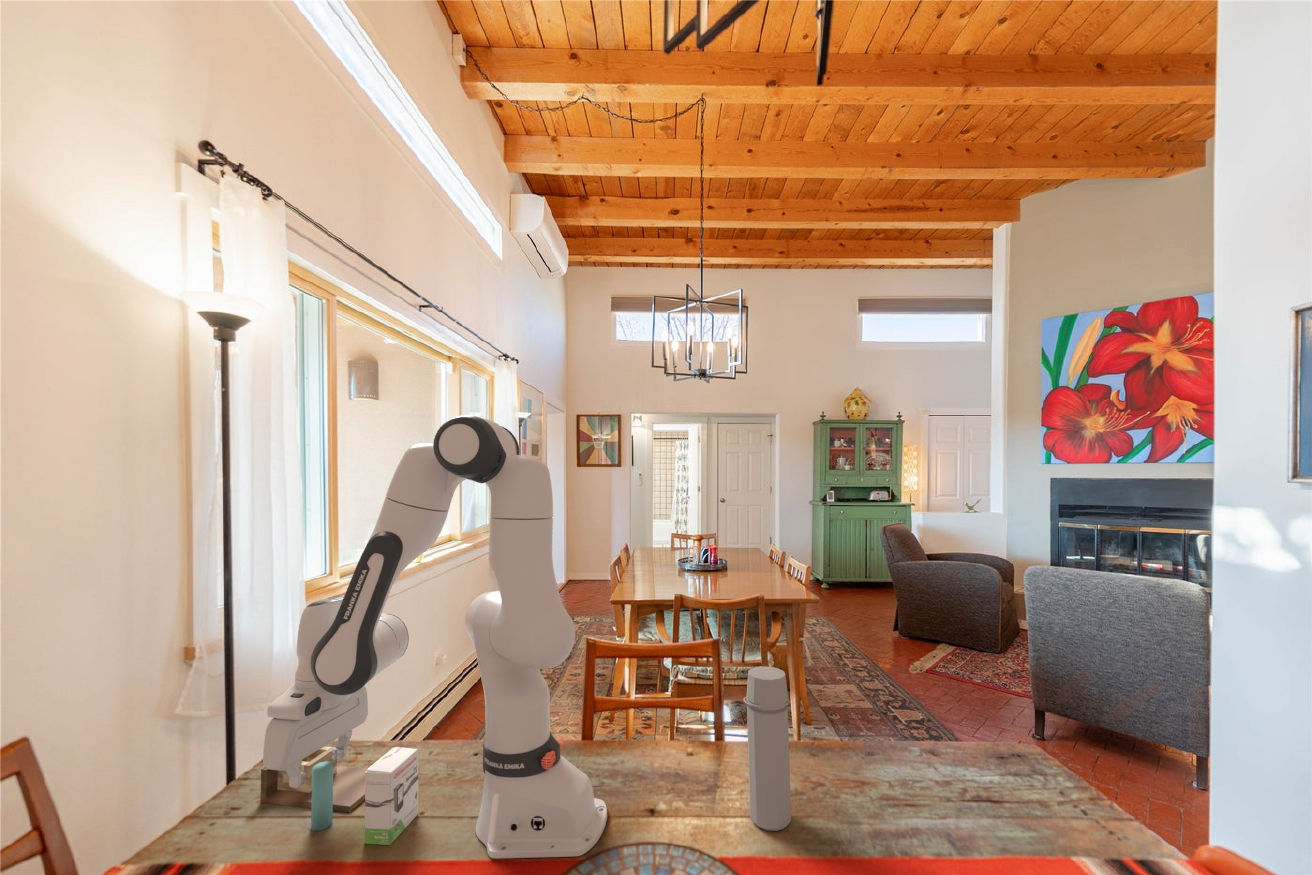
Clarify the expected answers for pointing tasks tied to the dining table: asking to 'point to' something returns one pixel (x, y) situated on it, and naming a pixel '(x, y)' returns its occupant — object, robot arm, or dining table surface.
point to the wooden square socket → (307, 770)
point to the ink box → (391, 795)
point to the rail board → (344, 791)
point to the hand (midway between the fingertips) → (318, 771)
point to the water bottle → (768, 748)
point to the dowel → (322, 796)
